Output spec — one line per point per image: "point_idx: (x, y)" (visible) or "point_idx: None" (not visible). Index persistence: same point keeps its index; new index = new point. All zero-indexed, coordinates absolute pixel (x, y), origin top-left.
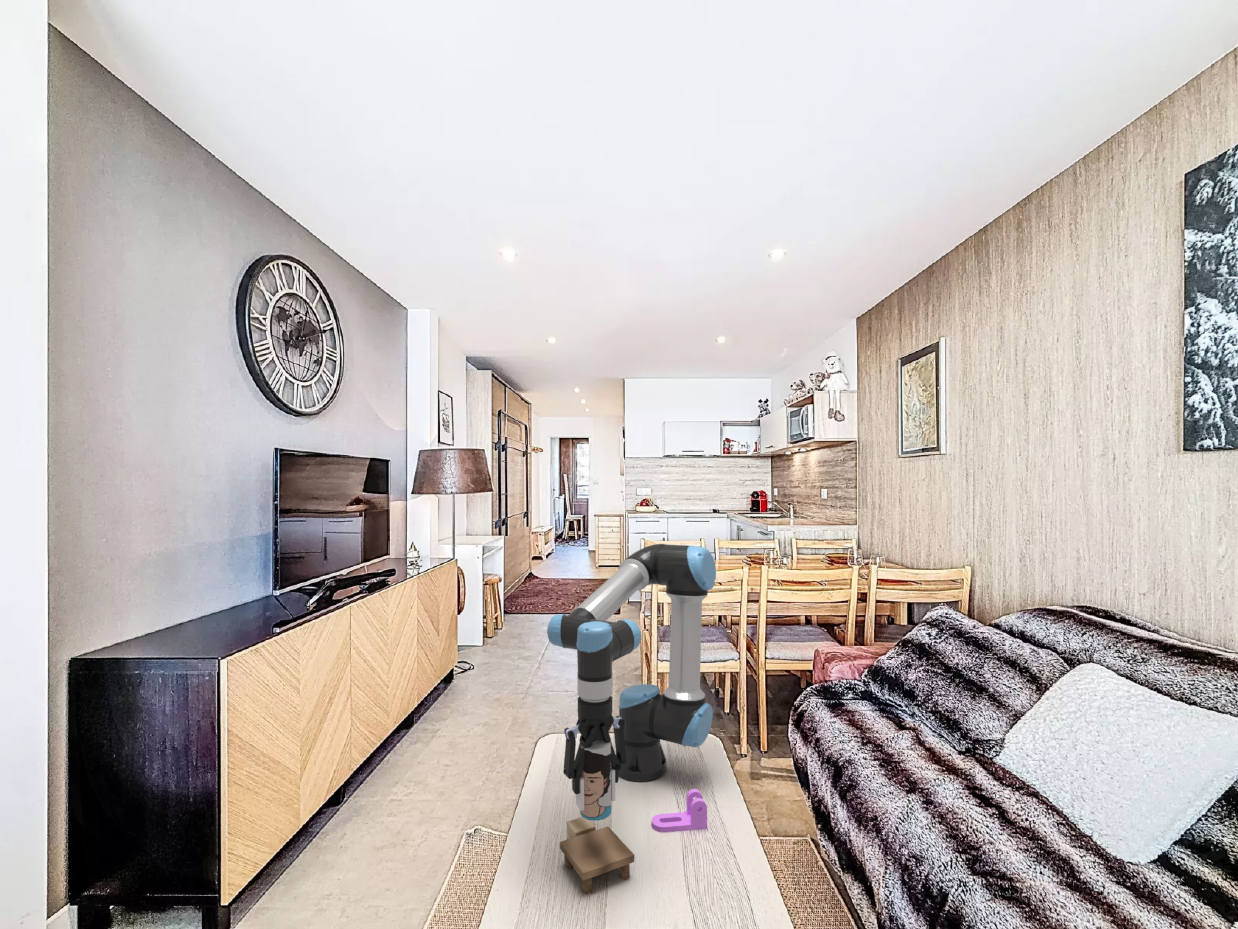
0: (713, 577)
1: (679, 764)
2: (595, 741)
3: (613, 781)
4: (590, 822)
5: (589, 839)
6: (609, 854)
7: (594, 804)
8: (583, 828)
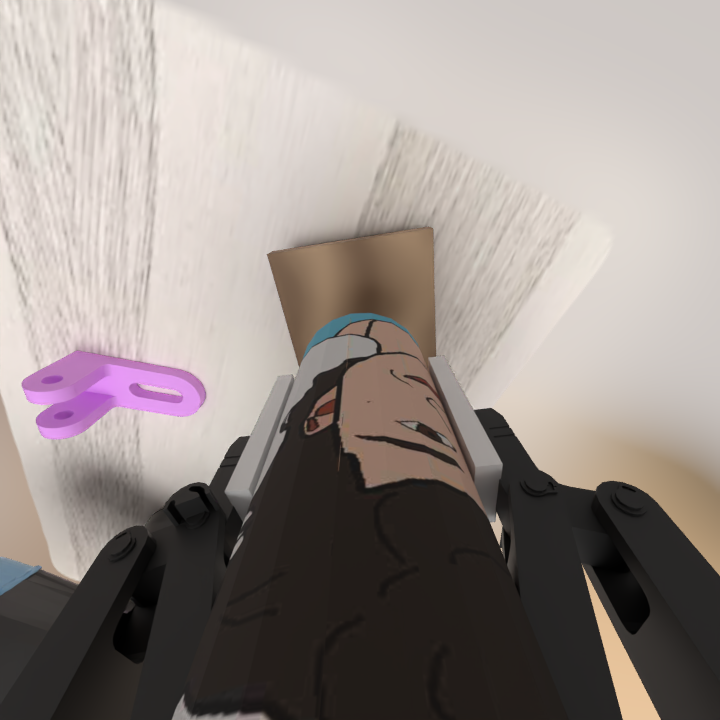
0: None
1: (120, 528)
2: None
3: (260, 436)
4: None
5: None
6: (335, 282)
7: (394, 347)
8: None
